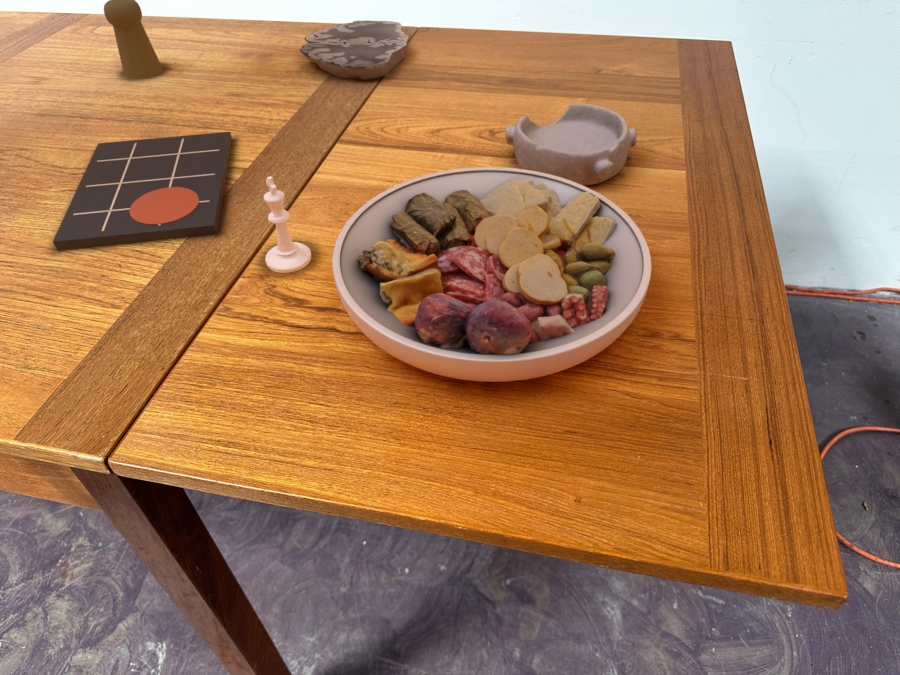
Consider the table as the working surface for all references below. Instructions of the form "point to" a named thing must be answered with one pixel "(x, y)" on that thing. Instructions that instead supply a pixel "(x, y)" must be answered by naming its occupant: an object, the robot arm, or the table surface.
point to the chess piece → (283, 236)
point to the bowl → (491, 272)
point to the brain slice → (357, 48)
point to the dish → (574, 144)
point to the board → (148, 191)
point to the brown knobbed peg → (132, 39)
